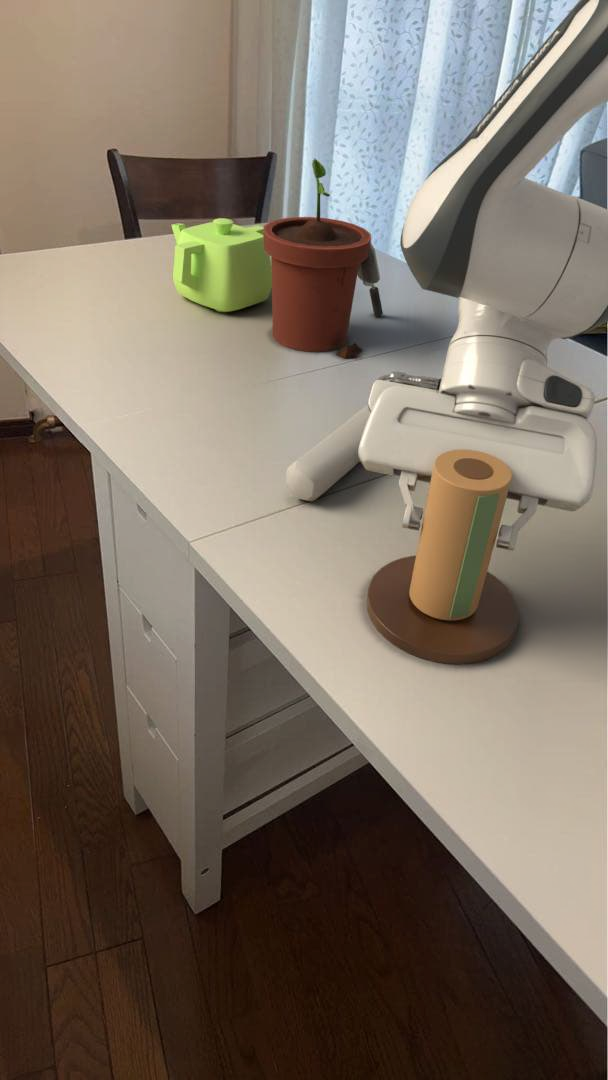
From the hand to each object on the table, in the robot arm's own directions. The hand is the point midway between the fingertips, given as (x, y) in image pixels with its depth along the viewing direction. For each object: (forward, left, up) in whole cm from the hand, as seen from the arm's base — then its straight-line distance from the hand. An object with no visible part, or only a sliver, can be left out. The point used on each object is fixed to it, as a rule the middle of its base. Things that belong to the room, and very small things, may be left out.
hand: (457, 538), depth 69 cm
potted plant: (+36, -55, -9) cm, 66 cm away
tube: (+18, -22, -9) cm, 30 cm away
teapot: (+59, -59, -9) cm, 84 cm away
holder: (0, -1, -9) cm, 9 cm away
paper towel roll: (0, -1, -7) cm, 7 cm away
